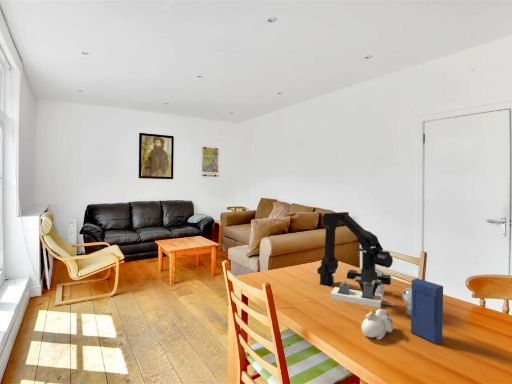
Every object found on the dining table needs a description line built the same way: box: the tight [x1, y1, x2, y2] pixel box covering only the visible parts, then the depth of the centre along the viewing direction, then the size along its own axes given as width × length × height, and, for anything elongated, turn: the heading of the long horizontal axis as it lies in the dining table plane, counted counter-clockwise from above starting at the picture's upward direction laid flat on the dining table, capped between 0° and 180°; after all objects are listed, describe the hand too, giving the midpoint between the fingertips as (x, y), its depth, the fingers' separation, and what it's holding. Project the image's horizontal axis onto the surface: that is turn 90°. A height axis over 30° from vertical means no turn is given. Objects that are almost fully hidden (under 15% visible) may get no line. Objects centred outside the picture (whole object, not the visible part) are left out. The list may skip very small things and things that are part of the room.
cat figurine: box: [361, 308, 393, 341], centre depth 108 cm, size 10×8×15 cm
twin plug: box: [338, 280, 351, 295], centre depth 139 cm, size 4×4×8 cm
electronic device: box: [410, 278, 444, 345], centre depth 105 cm, size 10×5×20 cm, turn 31°
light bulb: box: [401, 287, 412, 317], centre depth 121 cm, size 7×7×12 cm
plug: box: [363, 283, 374, 299], centre depth 134 cm, size 4×4×8 cm
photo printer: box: [364, 268, 385, 296], centre depth 146 cm, size 10×4×12 cm, turn 39°
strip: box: [330, 286, 392, 309], centre depth 136 cm, size 26×9×4 cm, turn 61°
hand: (368, 295), depth 134 cm, fingers closed on plug, 4 cm apart
